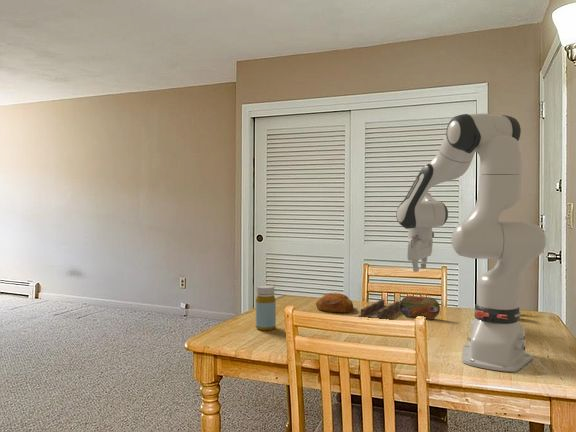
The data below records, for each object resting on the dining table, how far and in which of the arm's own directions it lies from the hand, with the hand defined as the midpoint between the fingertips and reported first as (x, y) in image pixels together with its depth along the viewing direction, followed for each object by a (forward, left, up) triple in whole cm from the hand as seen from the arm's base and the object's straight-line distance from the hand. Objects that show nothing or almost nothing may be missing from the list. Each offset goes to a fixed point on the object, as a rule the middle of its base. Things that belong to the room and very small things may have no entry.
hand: (419, 269), depth 180 cm
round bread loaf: (-4, +34, -19) cm, 39 cm away
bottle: (-44, +42, -19) cm, 64 cm away
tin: (0, 0, -19) cm, 19 cm away
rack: (-2, +15, -19) cm, 24 cm away
